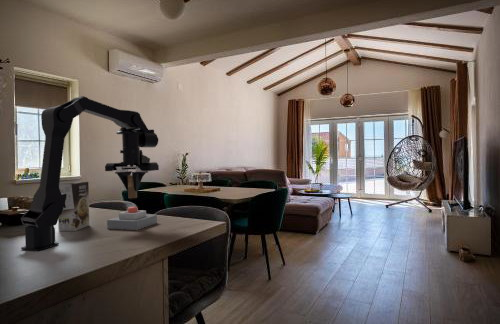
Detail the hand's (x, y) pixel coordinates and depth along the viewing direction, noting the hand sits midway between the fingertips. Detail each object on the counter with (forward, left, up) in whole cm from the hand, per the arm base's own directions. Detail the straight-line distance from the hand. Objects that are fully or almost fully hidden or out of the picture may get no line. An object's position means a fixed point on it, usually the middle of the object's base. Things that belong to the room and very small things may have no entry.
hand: (132, 191), depth 116 cm
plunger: (0, 0, -9) cm, 9 cm away
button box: (0, 0, -13) cm, 13 cm away
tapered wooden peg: (0, 0, -2) cm, 2 cm away
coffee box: (-8, +18, -13) cm, 24 cm away
